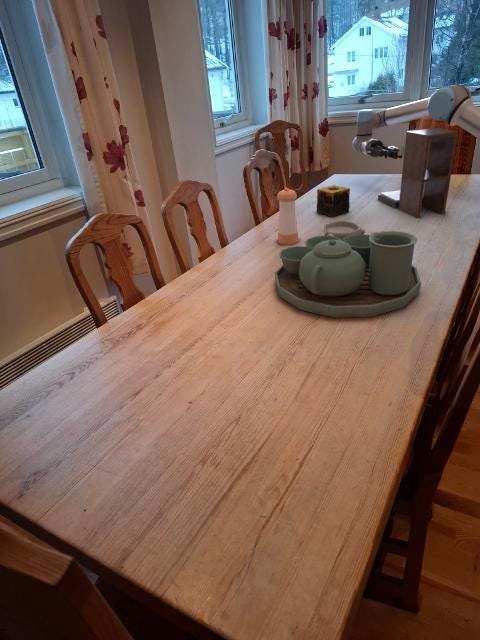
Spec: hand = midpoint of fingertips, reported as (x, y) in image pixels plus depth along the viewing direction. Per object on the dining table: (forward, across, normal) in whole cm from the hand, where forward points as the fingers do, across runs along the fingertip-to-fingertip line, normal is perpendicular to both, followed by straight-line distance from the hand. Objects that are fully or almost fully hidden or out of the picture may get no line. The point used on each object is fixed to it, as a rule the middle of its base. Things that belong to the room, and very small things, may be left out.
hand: (399, 155), depth 183 cm
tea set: (+72, +57, -19) cm, 93 cm away
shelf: (+21, 0, -19) cm, 28 cm away
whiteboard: (+5, 0, -19) cm, 19 cm away
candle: (+6, +32, -19) cm, 38 cm away
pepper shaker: (+31, +60, -19) cm, 70 cm away
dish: (+38, +42, -19) cm, 59 cm away
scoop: (+3, 0, +1) cm, 3 cm away
